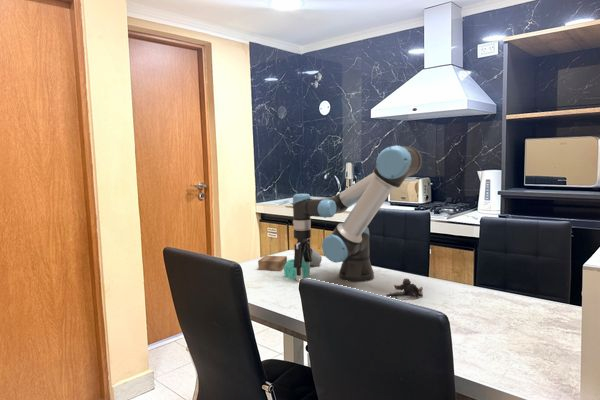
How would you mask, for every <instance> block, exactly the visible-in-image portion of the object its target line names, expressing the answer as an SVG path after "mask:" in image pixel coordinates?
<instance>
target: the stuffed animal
mask: <svg viewBox="0 0 600 400" xmlns="http://www.w3.org/2000/svg"><path fill="white" fill-rule="evenodd" d="M410 280H411V279H409V278H403V281H402V284H400V285H396V284H394V285H393V287H394V289H395V290H396V291H397V292H389V293H386V294H385V296H386V297H387V298H388V297H389V298H391V299H392V298H395V299H394V300H396V299H399V300H398V301H404V300H414V299H415V300H416V299H419V298H422V297H423V296H424V295H423V293H424V292H423V288H424V287H422V286H420V287H418V286H417V285H416V284H414V283H412V282H411V281H410ZM390 296H391V297H390Z"/></svg>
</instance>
